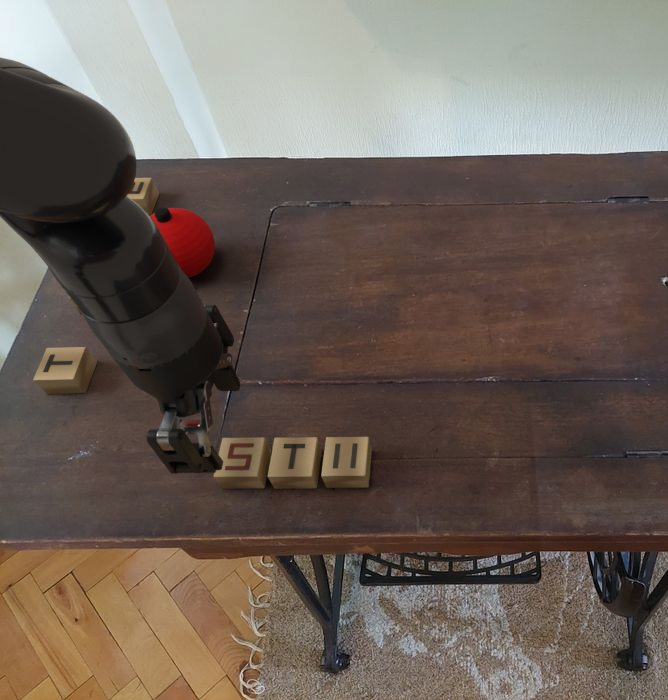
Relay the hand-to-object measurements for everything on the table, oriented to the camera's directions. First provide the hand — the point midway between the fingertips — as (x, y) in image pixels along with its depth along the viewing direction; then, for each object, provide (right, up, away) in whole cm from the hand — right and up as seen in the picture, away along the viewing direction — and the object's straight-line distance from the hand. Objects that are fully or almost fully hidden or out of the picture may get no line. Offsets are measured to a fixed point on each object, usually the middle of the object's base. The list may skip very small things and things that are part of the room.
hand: (221, 426), depth 62 cm
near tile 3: (+11, -5, +7) cm, 14 cm away
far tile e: (-24, +28, +32) cm, 49 cm away
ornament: (-14, +18, +25) cm, 34 cm away
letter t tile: (-23, +4, +14) cm, 27 cm away
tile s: (0, -6, +7) cm, 9 cm away
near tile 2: (+5, -6, +7) cm, 11 cm away
